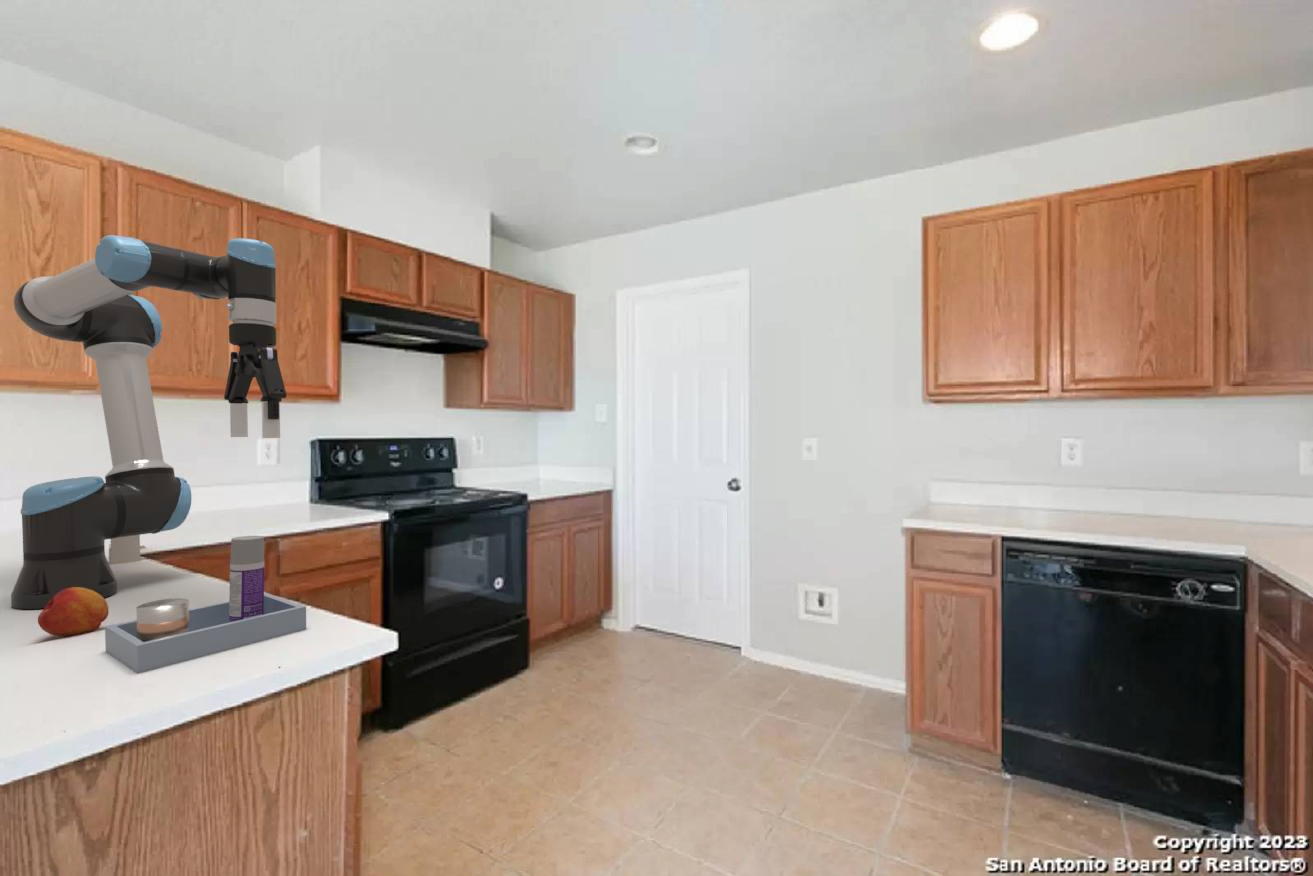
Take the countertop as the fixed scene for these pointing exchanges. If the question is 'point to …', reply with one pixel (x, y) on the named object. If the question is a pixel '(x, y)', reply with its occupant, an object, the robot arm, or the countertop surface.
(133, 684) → the countertop surface
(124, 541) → the architectural model
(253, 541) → the container
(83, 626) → the fruit
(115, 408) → the robot arm
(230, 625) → the tray
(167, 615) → the tin
